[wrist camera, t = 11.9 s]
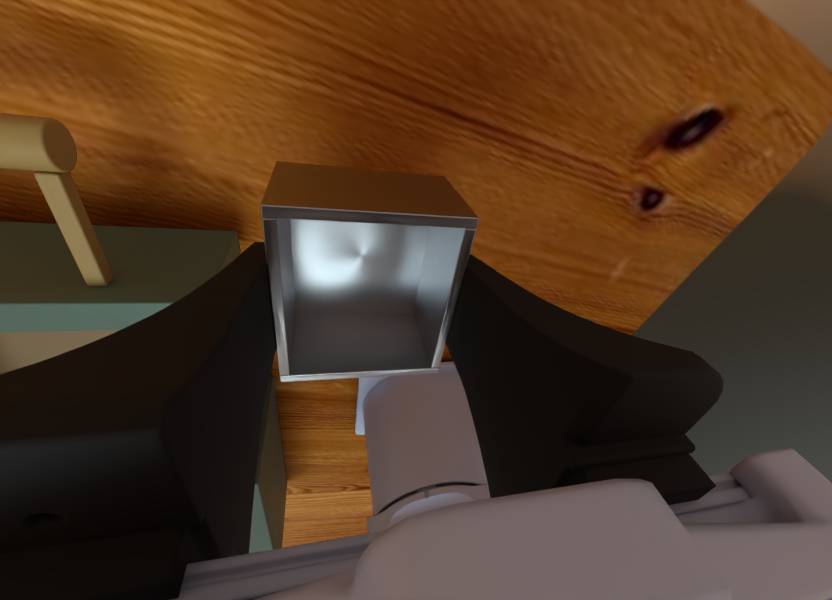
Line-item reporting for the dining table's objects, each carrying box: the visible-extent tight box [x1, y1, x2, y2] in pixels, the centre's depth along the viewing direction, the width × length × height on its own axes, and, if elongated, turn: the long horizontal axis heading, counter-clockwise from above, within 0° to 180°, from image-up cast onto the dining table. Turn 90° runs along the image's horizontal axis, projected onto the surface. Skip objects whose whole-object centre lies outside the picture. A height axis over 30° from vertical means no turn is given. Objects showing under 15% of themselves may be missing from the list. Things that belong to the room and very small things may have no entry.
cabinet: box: [249, 376, 287, 554], centre depth 24 cm, size 14×14×7 cm
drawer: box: [0, 113, 240, 374], centre depth 15 cm, size 19×13×6 cm
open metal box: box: [260, 161, 479, 382], centre depth 11 cm, size 5×6×3 cm
